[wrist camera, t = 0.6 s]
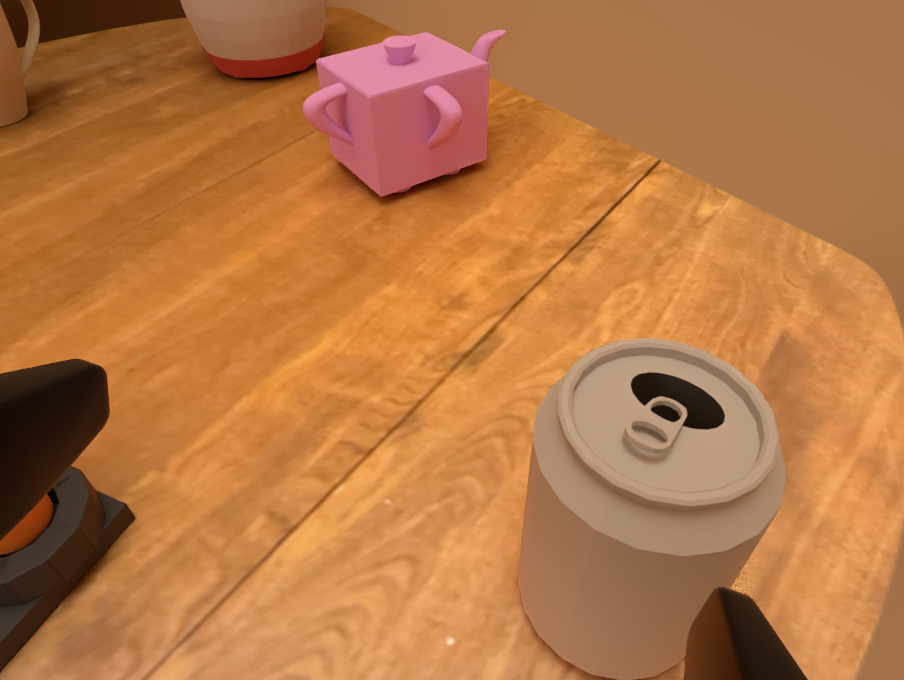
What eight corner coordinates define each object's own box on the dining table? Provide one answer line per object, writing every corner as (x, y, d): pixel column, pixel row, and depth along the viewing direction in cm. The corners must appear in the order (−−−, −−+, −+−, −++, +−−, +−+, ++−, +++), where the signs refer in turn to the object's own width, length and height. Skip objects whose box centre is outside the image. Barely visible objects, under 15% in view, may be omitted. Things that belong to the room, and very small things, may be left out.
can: (727, 576, 27) (841, 386, 19) (649, 735, 23) (751, 582, 14) (573, 484, 30) (612, 290, 22) (481, 607, 26) (484, 424, 18)
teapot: (461, 110, 61) (459, -6, 54) (556, 167, 52) (569, 39, 45) (287, 164, 54) (259, 39, 47) (364, 240, 45) (345, 102, 38)
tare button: (9, 567, 25) (-14, 545, 24) (-42, 540, 26) (-67, 517, 25) (69, 505, 27) (50, 482, 26) (20, 482, 28) (-1, 459, 27)
